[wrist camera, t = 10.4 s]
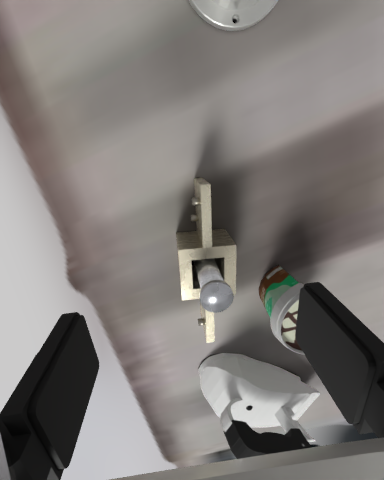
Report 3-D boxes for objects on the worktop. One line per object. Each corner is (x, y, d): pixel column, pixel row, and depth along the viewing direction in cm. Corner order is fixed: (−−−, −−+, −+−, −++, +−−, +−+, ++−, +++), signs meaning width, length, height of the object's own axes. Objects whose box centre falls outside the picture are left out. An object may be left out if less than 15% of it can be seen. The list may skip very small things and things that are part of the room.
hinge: (171, 179, 34) (173, 186, 28) (224, 176, 35) (237, 182, 28) (182, 315, 43) (185, 345, 36) (224, 310, 43) (235, 339, 37)
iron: (282, 409, 55) (321, 498, 41) (187, 383, 49) (195, 476, 35) (309, 376, 52) (362, 460, 38) (212, 344, 46) (232, 428, 32)
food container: (242, 272, 41) (265, 308, 32) (276, 257, 41) (309, 289, 31) (263, 324, 45) (288, 369, 36) (294, 311, 45) (327, 353, 36)
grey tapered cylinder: (189, 242, 38) (199, 285, 26) (212, 240, 38) (233, 281, 26) (190, 264, 39) (200, 314, 27) (213, 262, 40) (233, 310, 28)
